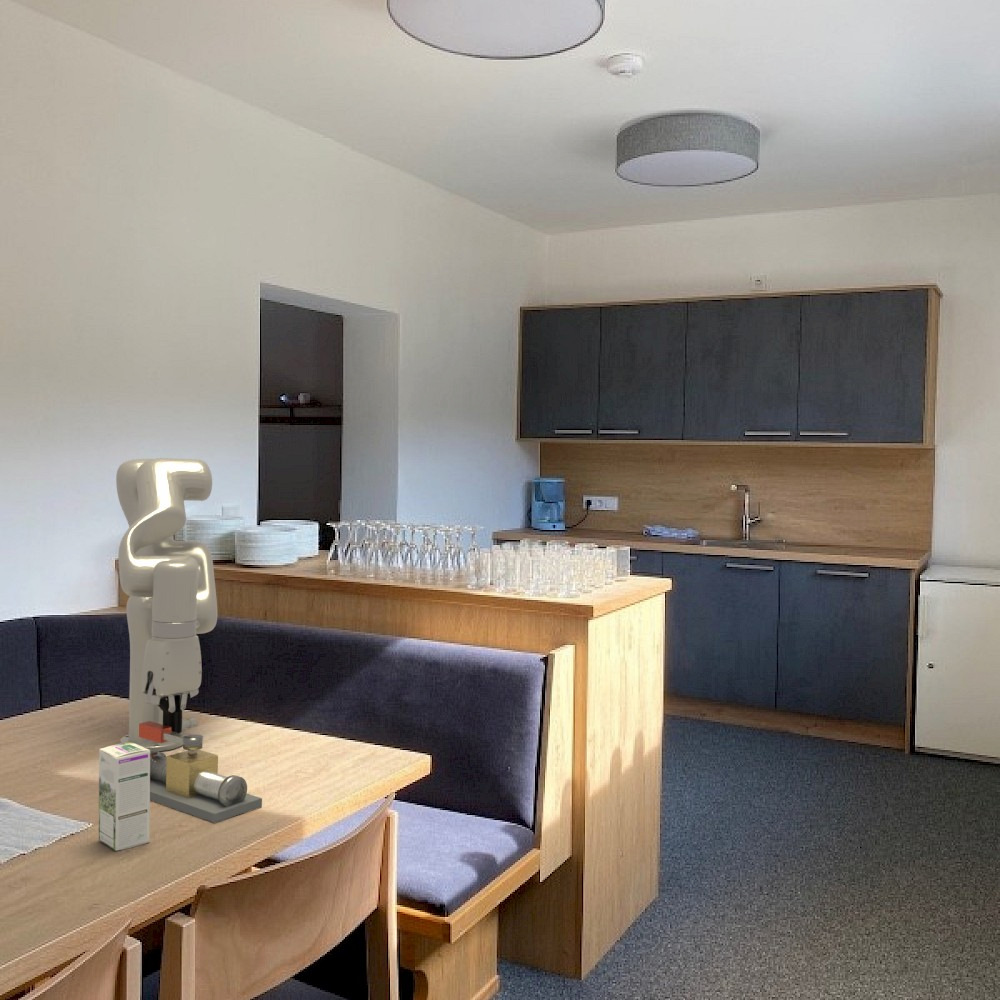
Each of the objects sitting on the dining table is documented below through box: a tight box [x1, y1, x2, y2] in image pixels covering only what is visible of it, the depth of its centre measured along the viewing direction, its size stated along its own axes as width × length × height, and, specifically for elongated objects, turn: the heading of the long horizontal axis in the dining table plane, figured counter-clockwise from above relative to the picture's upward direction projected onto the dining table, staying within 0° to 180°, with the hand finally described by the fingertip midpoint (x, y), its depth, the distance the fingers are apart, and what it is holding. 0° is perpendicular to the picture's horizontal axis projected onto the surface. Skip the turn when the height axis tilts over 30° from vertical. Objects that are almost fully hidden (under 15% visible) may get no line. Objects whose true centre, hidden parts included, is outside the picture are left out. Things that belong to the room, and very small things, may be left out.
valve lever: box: [139, 721, 204, 756], centre depth 180 cm, size 15×3×3 cm, turn 56°
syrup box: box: [98, 742, 151, 851], centre depth 157 cm, size 6×6×14 cm
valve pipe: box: [150, 749, 248, 807], centre depth 177 cm, size 6×22×7 cm, turn 55°
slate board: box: [150, 779, 263, 824], centre depth 177 cm, size 10×24×2 cm, turn 55°
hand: (172, 732), depth 184 cm, fingers closed
